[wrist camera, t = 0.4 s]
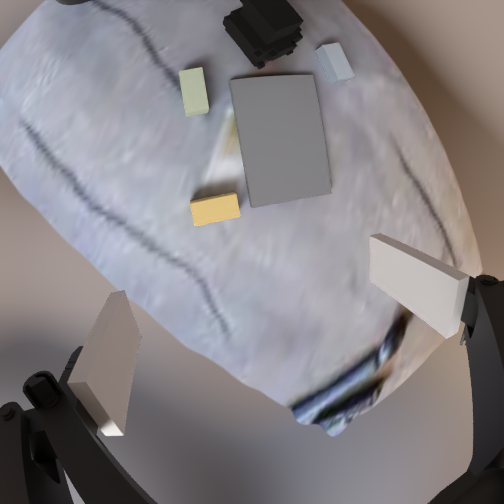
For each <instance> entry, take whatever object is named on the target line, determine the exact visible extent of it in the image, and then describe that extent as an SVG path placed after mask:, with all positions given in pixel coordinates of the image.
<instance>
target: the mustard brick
mask: <svg viewBox="0 0 504 504" xmlns="http://www.w3.org/2000/svg"><path fill="white" fill-rule="evenodd" d="M190 206H191V211H192V216H193V220H194V225H195V226H199V225H204V224H208V223H213V222H218V221H222V220H227V219H232V218H236V217H240V211H239V206H238V200H237V195H236V193H234V192H231V193H226V194H221V195H216V196H211V197H206V198H202V199H197V200H193V201H190Z"/></svg>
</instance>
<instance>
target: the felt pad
mask: <svg viewBox="0 0 504 504" xmlns="http://www.w3.org/2000/svg"><path fill="white" fill-rule="evenodd" d="M229 85H230V91H231V97H232V102H233V108H234V114H235V119H236V125H237V131H238V137H239V142H240V148H241V154H242V160H243V166H244V171H245V177H246V183H247V189H248V195H249V201H250V206H251V207H252V208H255V207H260V206H265V205H271V204H276V203H281V202H287V201H292V200H297V199H303V198H309V197H314V196H320V195H326V194H332V191H331V182H330V174H329V166H328V159H327V152H326V145H325V138H324V132H323V126H322V120H321V114H320V108H319V103H318V97H317V92H316V87H315V82H314V77H313V75H284V76H266V77H254V78H243V79H234V80H230V81H229Z"/></svg>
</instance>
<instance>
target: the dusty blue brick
mask: <svg viewBox="0 0 504 504" xmlns="http://www.w3.org/2000/svg"><path fill="white" fill-rule="evenodd" d="M315 52H316V54H317V57H318V59H319V61H320V63H321V65H322V67H323V69H324V71H325V73H326V76H327V78H328V80H329V82H330V85H331V84H335V83H339V82H343V81H347V80H349V79H351V78H353V77H355V76H354V74H353V71H352V69H351V67H350V65H349V63H348V60H347V58H346V56H345V54H344V52H343V50H342V48H341V46H340V44H339V43H332V44H326V45H322V46H321V47H320V48H318V49H317V50H316V51H315Z"/></svg>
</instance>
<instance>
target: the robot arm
mask: <svg viewBox="0 0 504 504" xmlns="http://www.w3.org/2000/svg"><path fill="white" fill-rule="evenodd" d="M56 1H57V2H59V3H61V4H65V5H75V4H80V3H84V2H87V1H90V0H56ZM370 281H371V282H372V283H374V284H375V285H376V286H378V287H379V288H381V289H382V290H383V291H385V292H386V293H387V294H389V295H390V296H391V297H393V298H394V299H396V300H397V301H398V302H400V303H401V304H402V305H404V306H405V307H406V308H408V309H409V310H410V311H412V312H413V313H414V314H416V315H417V316H418V317H419V318H421V319H422V320H423V321H425V322H426V323H427V324H429V325H430V326H431V327H432V328H434V329H435V330H436V331H438V332H439V333H440V334H441V335H443V336H444V337H445V338H446V339H447V338H449V337H451V336H452V335H454V334H456V333H457V332H458V329H459V325H460V321H463V322H464V323H465V328H464V331H463V335H462V338H461V342H460V345H462V343H463V341H464V340H465V341H466V343H465V345H466V347H467V353H468V360H469V367H470V377H471V386H472V401H473V456H472V460H471V462H470V465H469V467H468V469H467V472H465V473H464V474H463V475H462V476H460V477H459V478H458V479H457V480H455V481H454V482H453V483H451V484H450V485H449V486H447V487H446V488H445V489H443V490H442V491H441V492H440V493H439V494H437V496H435V497H434V498H433V499H432V500H431V501H430V502H429V503H428V504H504V281H499V280H498V279H496V278H495V277H493V276H490V275H479V276H477V277H476V278H473V277H471V276H469V275H467V274H465V273H463V272H461V271H460V270H458V269H456V268H454V267H452V266H450V265H448V264H446V263H444V262H442V261H440V260H437V259H435V258H433V257H431V256H429V255H427V254H425V253H423V252H421V251H419V250H417V249H414V248H412V247H410V246H408V245H406V244H404V243H401V242H399V241H397V240H395V239H392V238H390V237H388V236H386V235H383V234H381V233H379V234H375V235H371V236H370ZM141 337H142V336H141V333H140V331H139V328H138V326H137V323H136V321H135V318H134V316H133V313H132V310H131V308H130V305H129V302H128V299H127V297H126V294H125V291H124V290H123V291H118V292H113V293H111V294H110V295H109V297H108V299H107V301H106V303H105V305H104V307H103V309H102V310H101V312H100V314H99V316H98V318H97V320H96V322H95V324H94V326H93V328H92V330H91V332H90V334H89V336H88V338H87V340H86V342H85V344H84V346H80V347H78V348H77V349H76V350H75V351H74V352H73V353H72V355H71V357H70V359H69V361H68V364H67V365H66V367H65V370H64V371H63V373H62V376H61V378H60V380H59V382H57V381H56V379H55V378H54V376H53V375H52V374H51V373H50V372H49V371H40V372H37V373H35V374H33V375H32V376H31V377H29V378H28V379H27V381H26V382H25V383H24V386H23V392H24V394H25V395H26V397H27V398H28V399H29V401H30V402H31V404H32V405H33V406H34V407H35V408H34V409H29V410H26V411H24V410H23V409H22V408H21V406H20V405H19V404H18V403H17V402H9V403H7V404H4V405H3V406H2V407H1V408H0V504H74V503H73V500H72V497H71V494H70V491H69V487H68V484H67V480H66V477H65V473H64V470H65V472H66V474H67V475H68V477H69V479H70V480H71V482H72V484H73V486H74V487H75V489H76V490H77V492H78V494H79V495H80V497H81V498H82V500H83V501H84V503H85V504H157V502H155V501H154V500H153V499H152V498H151V497H150V496H149V495H148V494H147V493H146V492H145V491H144V490H143V489H142V488H141V487H140V486H139V485H138V484H137V482H136V481H135V480H134V479H133V478H132V477H131V476H130V475H129V474H128V473H127V472H126V470H125V469H124V468H123V467H122V466H121V465H120V463H119V462H118V461H117V460H116V459H115V457H114V456H113V455H112V454H111V453H110V451H109V450H108V449H107V447H106V446H105V445H104V444H103V442H102V441H101V440H100V438H99V437H98V436H97V435H96V434H97V429H98V427H99V428H100V429H101V431H102V432H103V433H104V434H105V436H120V435H124V429H125V422H126V416H127V409H128V403H129V397H130V391H131V386H132V380H133V375H134V370H135V364H136V360H137V355H138V350H139V346H140V341H141ZM63 468H64V469H63Z"/></svg>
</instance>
